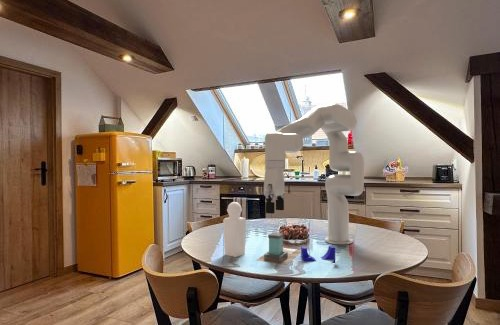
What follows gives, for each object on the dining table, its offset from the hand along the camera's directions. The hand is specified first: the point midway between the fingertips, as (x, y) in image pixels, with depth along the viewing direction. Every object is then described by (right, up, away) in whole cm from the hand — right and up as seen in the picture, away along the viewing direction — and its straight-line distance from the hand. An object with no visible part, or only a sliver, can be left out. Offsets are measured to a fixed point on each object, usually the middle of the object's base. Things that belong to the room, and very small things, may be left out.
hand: (275, 211), depth 119 cm
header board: (+3, -19, +5) cm, 20 cm away
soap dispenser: (-15, -19, +7) cm, 26 cm away
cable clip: (+16, -19, -1) cm, 25 cm away
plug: (0, -18, 0) cm, 18 cm away
